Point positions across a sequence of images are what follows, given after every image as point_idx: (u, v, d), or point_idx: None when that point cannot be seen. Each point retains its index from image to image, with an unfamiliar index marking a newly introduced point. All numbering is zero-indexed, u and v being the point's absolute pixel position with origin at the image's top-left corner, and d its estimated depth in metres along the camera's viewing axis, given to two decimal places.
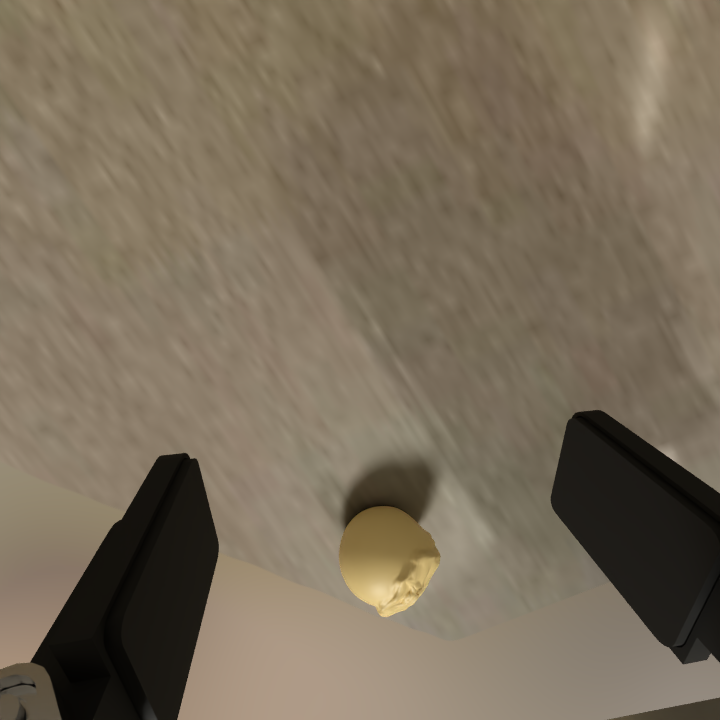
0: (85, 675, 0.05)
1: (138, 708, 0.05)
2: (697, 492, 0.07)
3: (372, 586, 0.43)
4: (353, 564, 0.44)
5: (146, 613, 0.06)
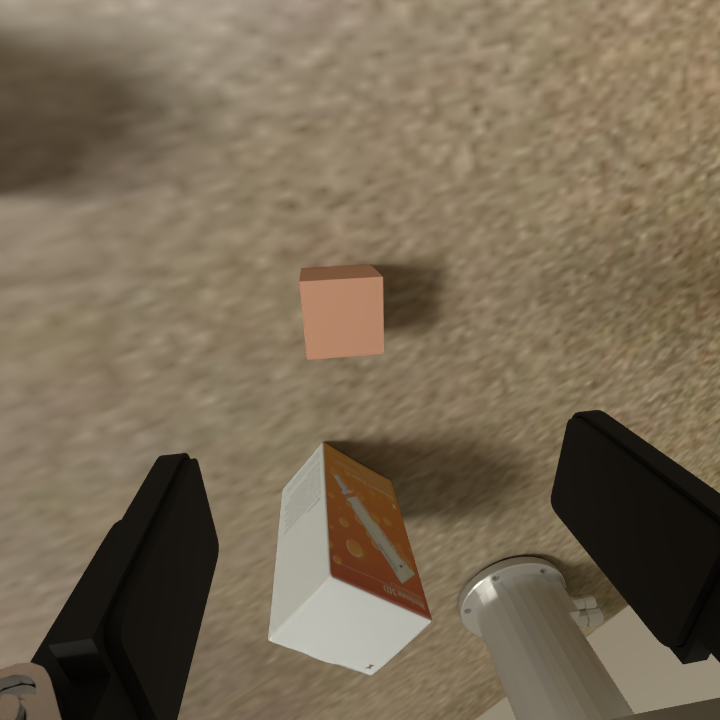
0: (85, 675, 0.05)
1: (138, 708, 0.05)
2: (697, 492, 0.07)
3: None
4: None
5: (146, 613, 0.06)
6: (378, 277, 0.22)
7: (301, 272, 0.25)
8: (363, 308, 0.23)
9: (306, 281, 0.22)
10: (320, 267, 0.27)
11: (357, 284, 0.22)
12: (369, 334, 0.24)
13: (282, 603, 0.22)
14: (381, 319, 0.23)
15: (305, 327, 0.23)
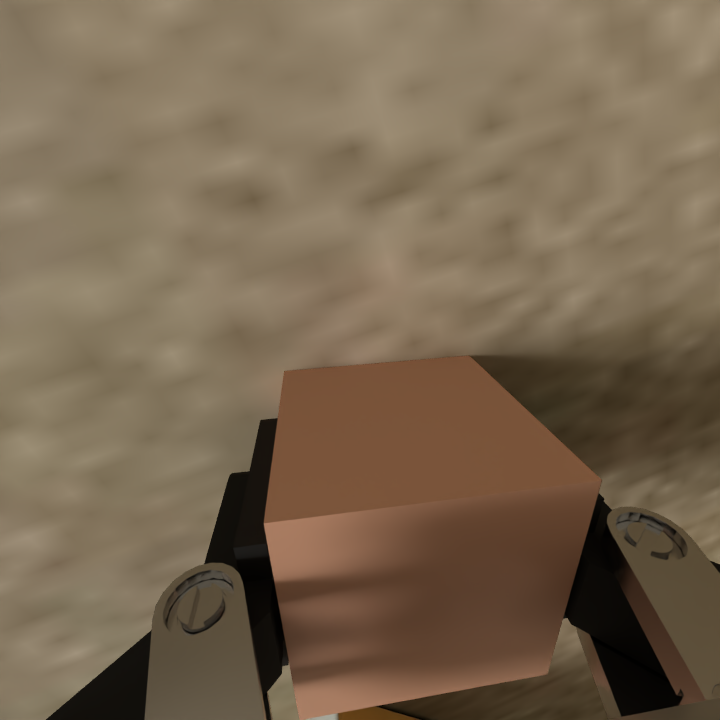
0: (255, 575, 0.06)
1: None
2: None
3: None
4: None
5: None
6: (583, 483, 0.06)
7: (282, 404, 0.08)
8: (509, 578, 0.06)
9: (294, 516, 0.05)
10: (337, 367, 0.10)
11: (500, 512, 0.06)
12: (513, 639, 0.07)
13: None
14: (561, 599, 0.07)
15: (292, 649, 0.06)
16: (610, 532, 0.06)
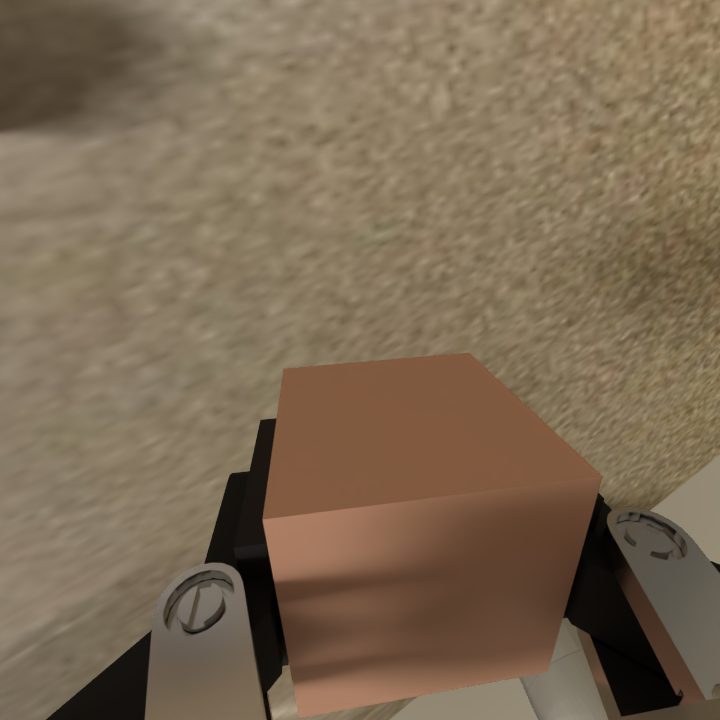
0: (255, 575, 0.06)
1: None
2: None
3: None
4: None
5: None
6: (584, 479, 0.06)
7: (281, 401, 0.08)
8: (509, 574, 0.06)
9: (293, 512, 0.05)
10: (336, 365, 0.10)
11: (500, 508, 0.06)
12: (513, 637, 0.07)
13: None
14: (562, 596, 0.07)
15: (292, 647, 0.06)
16: (610, 532, 0.06)
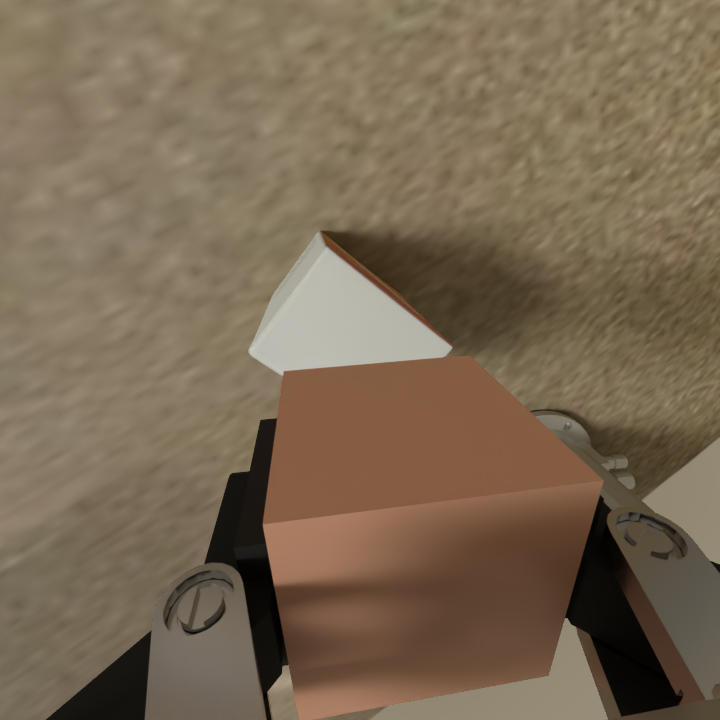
0: (255, 576, 0.06)
1: None
2: None
3: None
4: None
5: None
6: (585, 483, 0.06)
7: (282, 404, 0.08)
8: (510, 578, 0.06)
9: (294, 517, 0.05)
10: (337, 367, 0.10)
11: (501, 512, 0.06)
12: (514, 640, 0.07)
13: (267, 320, 0.18)
14: (563, 600, 0.07)
15: (292, 651, 0.06)
16: (610, 532, 0.06)
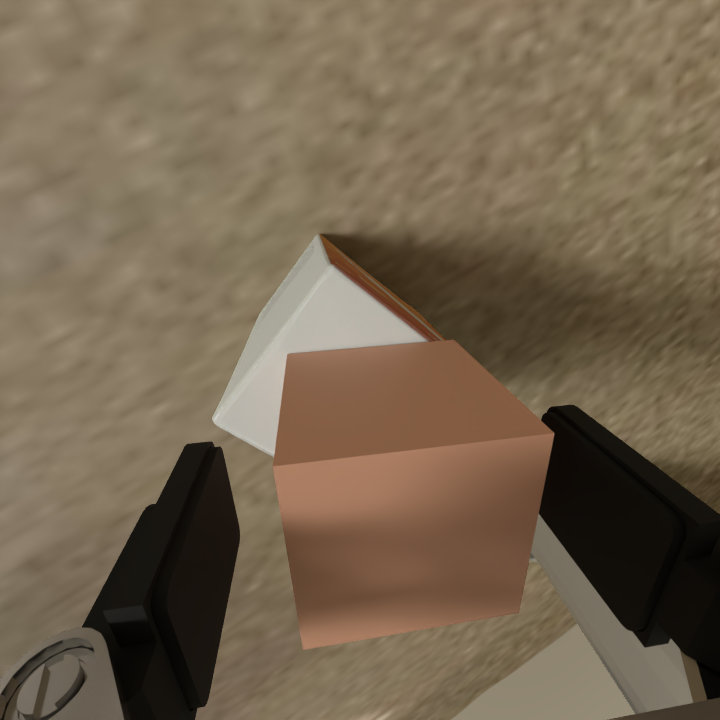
0: (134, 640, 0.05)
1: (178, 675, 0.06)
2: (656, 481, 0.07)
3: None
4: None
5: (185, 587, 0.06)
6: (539, 436, 0.07)
7: (286, 380, 0.09)
8: (479, 520, 0.07)
9: (298, 461, 0.06)
10: (334, 350, 0.11)
11: (469, 460, 0.07)
12: (486, 578, 0.08)
13: (242, 368, 0.12)
14: (527, 541, 0.08)
15: (297, 582, 0.07)
16: None
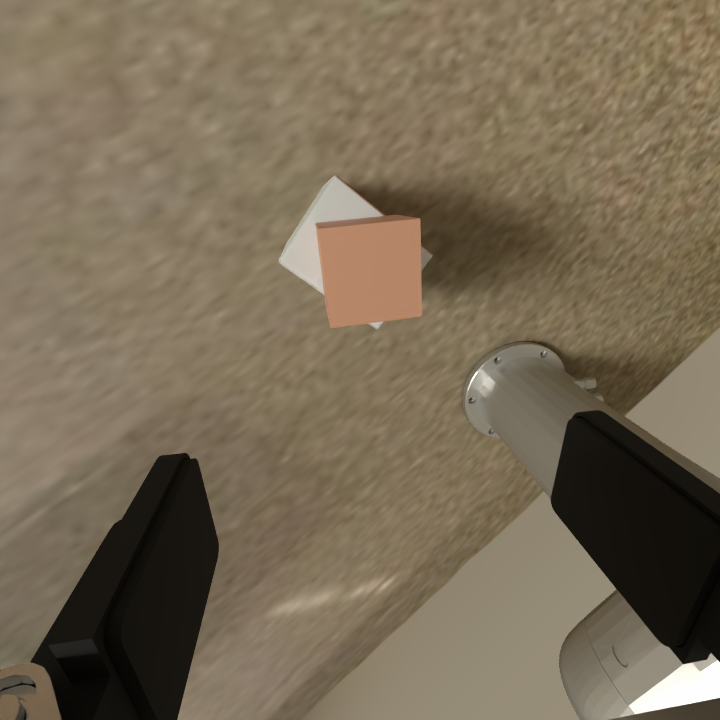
0: (85, 675, 0.05)
1: (138, 708, 0.05)
2: (697, 492, 0.07)
3: None
4: None
5: (146, 613, 0.06)
6: (414, 219, 0.18)
7: (317, 224, 0.21)
8: (397, 260, 0.19)
9: (326, 228, 0.18)
10: None
11: (389, 229, 0.18)
12: (404, 293, 0.19)
13: None
14: (418, 273, 0.19)
15: (327, 287, 0.19)
16: None
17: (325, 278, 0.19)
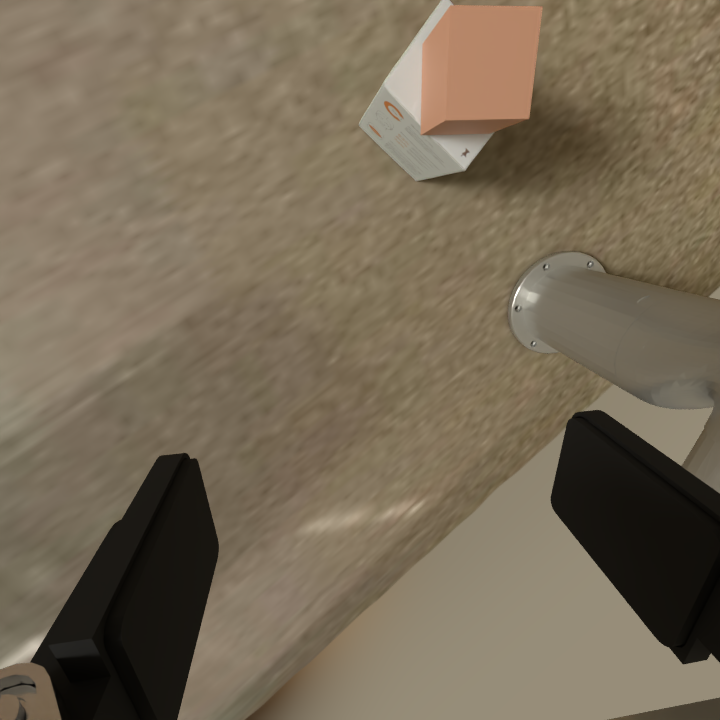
0: (85, 675, 0.05)
1: (138, 708, 0.05)
2: (697, 492, 0.07)
3: None
4: None
5: (146, 613, 0.06)
6: (537, 7, 0.19)
7: (431, 32, 0.22)
8: (515, 51, 0.20)
9: (457, 7, 0.19)
10: None
11: (513, 15, 0.19)
12: (517, 90, 0.21)
13: None
14: (532, 69, 0.20)
15: (449, 73, 0.20)
16: None
17: (448, 62, 0.20)
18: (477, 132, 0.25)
